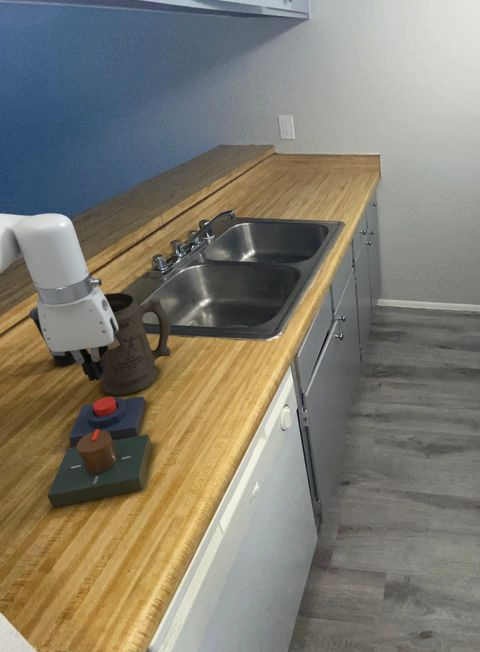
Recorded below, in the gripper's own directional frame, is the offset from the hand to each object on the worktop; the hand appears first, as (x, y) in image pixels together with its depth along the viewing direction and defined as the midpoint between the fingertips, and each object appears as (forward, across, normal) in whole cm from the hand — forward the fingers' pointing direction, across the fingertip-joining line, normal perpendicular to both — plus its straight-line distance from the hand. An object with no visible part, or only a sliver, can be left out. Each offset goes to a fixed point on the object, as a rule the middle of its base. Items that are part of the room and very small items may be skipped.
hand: (97, 375), depth 87 cm
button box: (+12, +1, 0) cm, 12 cm away
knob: (+9, -1, +13) cm, 16 cm away
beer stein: (+12, -2, -15) cm, 19 cm away
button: (+8, +1, 0) cm, 8 cm away
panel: (+12, -1, +13) cm, 18 cm away
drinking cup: (+12, +15, -25) cm, 31 cm away
